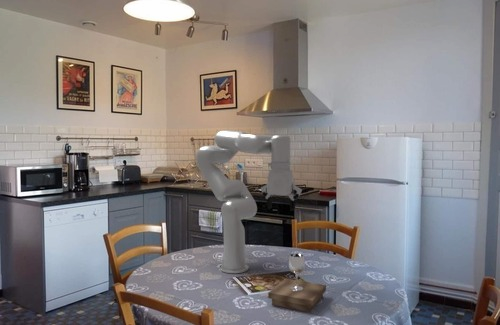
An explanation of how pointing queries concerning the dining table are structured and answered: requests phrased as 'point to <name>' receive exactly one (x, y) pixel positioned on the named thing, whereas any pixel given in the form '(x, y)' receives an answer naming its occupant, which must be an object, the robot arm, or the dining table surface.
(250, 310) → the dining table surface
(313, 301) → the stand
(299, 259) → the wineglass
